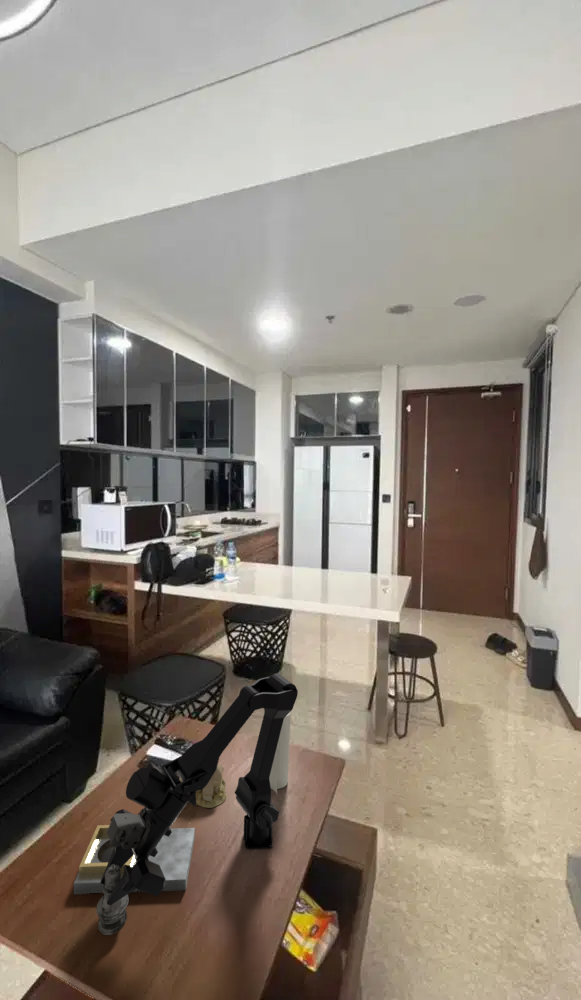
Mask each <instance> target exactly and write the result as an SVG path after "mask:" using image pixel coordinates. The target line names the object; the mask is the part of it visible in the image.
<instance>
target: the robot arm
mask: <svg viewBox="0 0 581 1000" xmlns="http://www.w3.org/2000/svg"><path fill="white" fill-rule="evenodd" d="M298 692H299V691H298V688H297V686H296V685H295V684H294V683H293V682H291V681H290V680H288V679H286V678H285V677H284V676H283V675H281V674H280V673H273V674H271V675H270V676H266V677H262V678H258V679H257V680H256V681H254V682H253V683H252V684H249V685H245V686H242V688H241V689H240V691H239V695H237V697H236V699H235V700H234V701H233V702H232V704H231V705H230V706H229V707H228V708H227V710H225V712H224V714H223V715H222V716H220V718H219V719H218V720H217V722H216V723H215V724H214V726H213V727H212V728H211V730H210V731H209V732H208V733H207V735H206V736H205V737H203V738H202V739H201V740H199V741H197V742H195V743H193V744H192V745H190V746H189V748H187V749H186V750H185V751H184V752H183V753H182V754H181V755H180V756H178V757H177V758H174V759H173V760H171V761H169V762H167V763H164V764H163V765H161V767H160V768H159V767H157V765H155V764H154V763H152V762H149V763H148V764H147V766H146V767H145V766H144V767H140V768H139V769H138V770H136V771H134V772H133V773H132V775H130V778H129V780H128V782H127V784H126V789H125V795H126V798H127V799H128V800H131V801H132V802H134V803H136V804H138V805H139V806H142V807H143V808H142V809H141V810H140V811H139V812H138V813H137V814H135V813H132V812H130V811H128V810H126V809H124V808H122V809H119V810H117V811H116V812H115V813H114V815H113V816H112V817H111V818H110V823H109V824H108V825H109V828H108V830H107V835H109V838H110V843H111V845H112V846H113V847H114V849H113V851H112V854H111V857H110V859H109V862H108V864H107V867H106V869H105V872H104V874H103V876H102V879H101V884H105V873H106V870H107V869H108V868H109V867H110V866H111V865H112V864H114V865H118V866H119V867H120V869H121V868H122V867H123V865H124V864H125V863H126V862H127V861H128V860H129V859H130V858H131V857H132V856H133V855H134V856H135V859H136V861H137V862H136V864H135V865H133V866H132V867H130V866H128V865H124V875H123V877H122V878H121V880H120V881H119V883H118V884H117V886H116V887H115V889H114V890H113V892H112V893H111V895H110V897H109V899H108V900H107V904H108V905H112V904H114V903H115V902H117V901H118V900H120V899H121V898H123V897H124V896H126V895H127V894H128V895H129V894H131V893H133V892H132V891H134V890H135V889H138V890H141V891H143V892H142V893H147V894H148V895H152V896H155V897H159V895H160V894H161V892H163V891H162V889H163V888H164V886H165V877H164V874H163V872H162V870H161V868H160V865H158V864H156V863H153V862H151V861H149V859H148V857H149V856H152V857H155V856H156V854H157V853H158V851H157V849H156V847H157V845H158V844H159V842H160V841H161V840H162V838H163V837H164V835H166V836H168V837H169V836H170V834H171V833H172V831H171V827H172V825H173V824H174V822H175V821H176V820H177V819H178V817H179V815H181V812H182V811H183V809H184V808H185V807H186V806H187V804H190V805H192V806H196V805H197V804H196V791H198V790H202V789H203V788H204V787H205V786H206V785H207V784H208V782H209V781H210V779H211V778H212V776H213V774H214V773H215V771H216V769H217V765H218V763H219V761H220V757H221V756H222V753H223V752H224V751H225V749H227V747H228V746H229V745H230V744H231V742H232V741H233V739H234V738H235V737H236V736H237V734H238V732H240V730H242V728H243V726H244V725H245V724H246V722H248V719H249V718H250V717H251V716H252V715H253V714H254V712H255V711H257V710H261V709H263V710H264V711H263V717H262V721H261V726H260V729H259V733H258V736H257V741H256V746H255V750H254V754H253V757H252V760H251V766H250V768H249V771H248V772H247V773H246V774H245V775H244V776H239V777H238V780H237V787H236V788H235V790H234V794H235V799H236V802H237V803H238V805H239V806H240V807H241V809H242V810H243V811H244V812H245V813H246V814H245V815H244V817H243V837H242V838H243V840H244V848H245V850H249V849H250V850H251V849H252V850H253V849H255V850H257V849H272V848H273V824H274V823H275V822H278V819H279V818H278V817H279V815H280V811H279V810H278V809H277V807H276V806H275V804H273V803H272V795H273V794H272V789H271V786H270V779H269V778H270V773H271V769H272V765H273V761H274V757H275V753H276V749H277V744H278V740H279V736H280V732H281V728H282V724H283V720H284V718H285V717H286V716H287V715H288V714H289V713H290V714H291V713H292V710H293V709H294V705H295V703H296V701H297V698H298V695H299V693H298ZM180 778H181V780H182V781H183V782H181V781H180V780H179V779H180Z"/></svg>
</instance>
